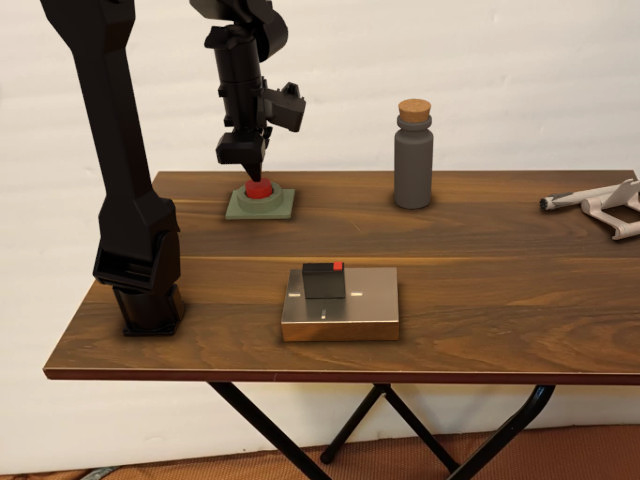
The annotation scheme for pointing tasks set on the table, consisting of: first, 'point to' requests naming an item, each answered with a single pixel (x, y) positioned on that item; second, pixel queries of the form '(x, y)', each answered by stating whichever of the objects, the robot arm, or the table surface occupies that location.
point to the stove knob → (324, 280)
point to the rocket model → (574, 197)
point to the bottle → (413, 154)
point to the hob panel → (344, 308)
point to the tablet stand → (620, 196)
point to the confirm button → (258, 188)
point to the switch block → (261, 204)
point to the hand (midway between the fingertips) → (257, 180)
